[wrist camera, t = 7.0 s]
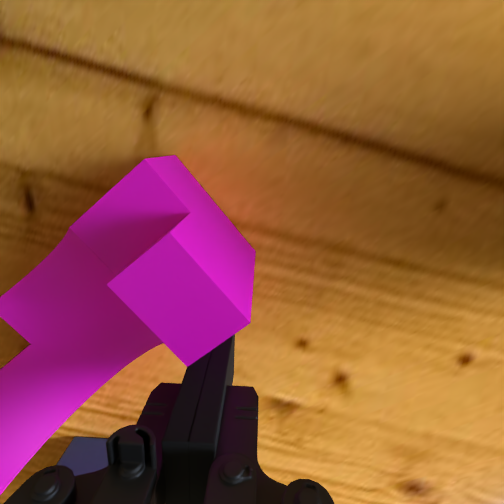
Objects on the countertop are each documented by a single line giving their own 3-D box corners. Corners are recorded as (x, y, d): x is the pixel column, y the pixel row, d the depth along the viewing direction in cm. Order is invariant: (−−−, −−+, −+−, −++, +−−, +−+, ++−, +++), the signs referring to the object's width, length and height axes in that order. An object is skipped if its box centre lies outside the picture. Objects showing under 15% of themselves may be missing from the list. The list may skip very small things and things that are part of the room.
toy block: (175, 155, 16) (107, 163, 9) (255, 251, 18) (250, 322, 11) (-14, 323, 20) (-172, 424, 13) (66, 394, 21) (-35, 522, 14)
